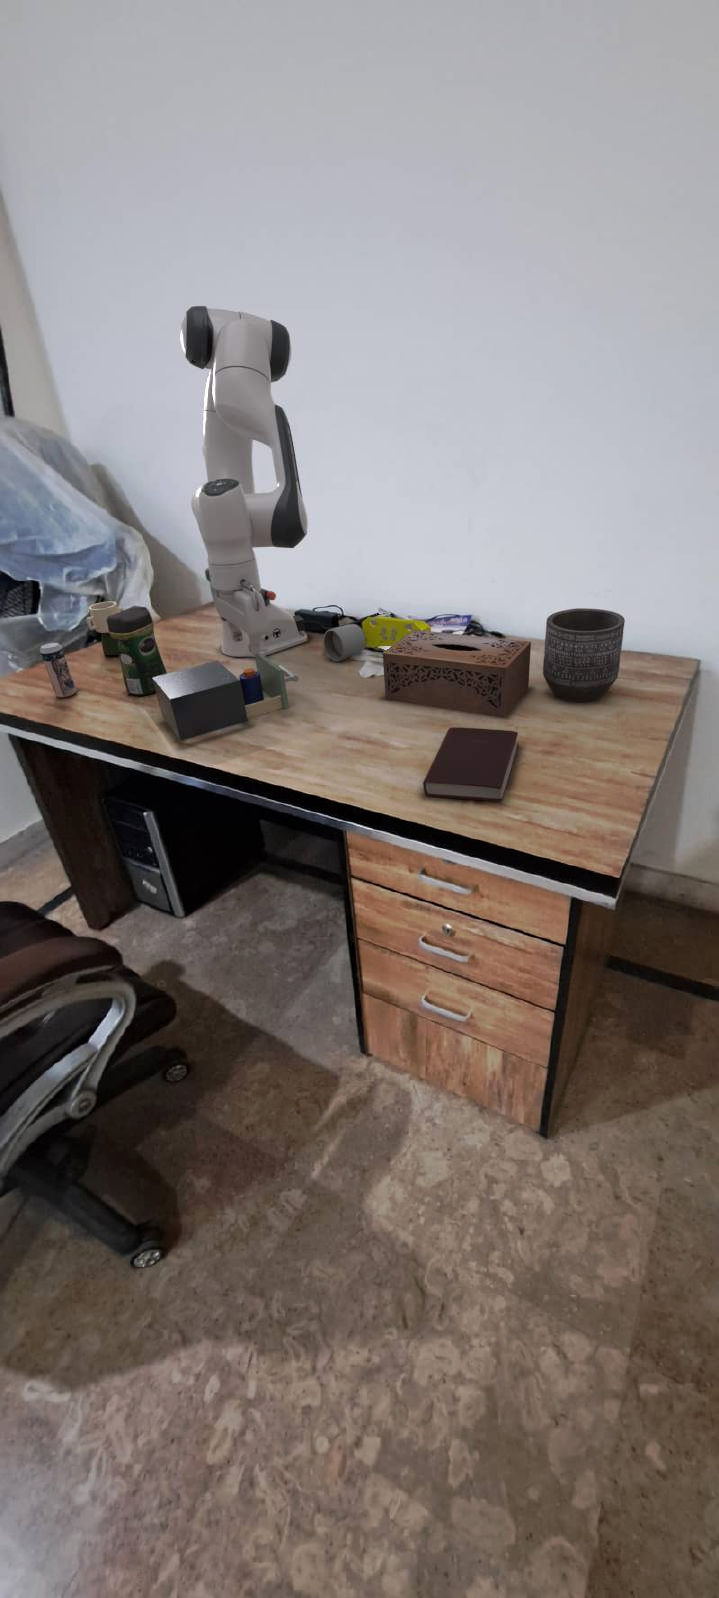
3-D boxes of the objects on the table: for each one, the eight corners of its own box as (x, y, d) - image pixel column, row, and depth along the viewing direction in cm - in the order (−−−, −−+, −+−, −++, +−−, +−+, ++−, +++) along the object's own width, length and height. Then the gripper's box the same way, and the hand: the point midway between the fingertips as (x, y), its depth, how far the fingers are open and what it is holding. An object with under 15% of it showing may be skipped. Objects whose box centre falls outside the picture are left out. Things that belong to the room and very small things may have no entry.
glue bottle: (260, 697, 143) (254, 664, 139) (267, 704, 140) (261, 670, 136) (241, 703, 141) (235, 669, 137) (248, 709, 138) (242, 676, 134)
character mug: (126, 644, 185) (112, 597, 178) (141, 649, 181) (128, 600, 174) (91, 658, 179) (76, 609, 172) (106, 662, 175) (91, 613, 168)
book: (422, 796, 108) (422, 779, 106) (448, 740, 123) (448, 724, 121) (501, 805, 104) (502, 787, 102) (518, 745, 119) (519, 729, 117)
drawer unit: (226, 704, 145) (217, 660, 140) (249, 727, 135) (240, 680, 129) (164, 722, 140) (151, 677, 135) (182, 747, 130) (170, 699, 124)
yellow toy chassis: (363, 650, 166) (360, 617, 161) (375, 642, 170) (372, 609, 165) (420, 658, 158) (419, 623, 154) (431, 650, 162) (430, 615, 158)
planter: (528, 697, 135) (532, 624, 127) (563, 673, 144) (569, 603, 136) (594, 713, 127) (603, 637, 119) (628, 687, 135) (638, 614, 127)
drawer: (282, 686, 150) (275, 645, 145) (308, 707, 139) (302, 664, 134) (205, 708, 143) (195, 666, 138) (226, 731, 133) (217, 687, 128)
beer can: (69, 698, 156) (52, 648, 149) (51, 698, 157) (34, 649, 150) (81, 690, 160) (64, 641, 153) (63, 690, 161) (46, 641, 154)
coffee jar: (151, 678, 162) (130, 601, 152) (175, 683, 158) (155, 604, 148) (120, 694, 155) (97, 615, 145) (145, 699, 152) (122, 618, 142)
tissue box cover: (528, 688, 139) (531, 641, 134) (504, 717, 129) (506, 668, 123) (415, 673, 151) (414, 629, 145) (385, 698, 141) (382, 653, 135)
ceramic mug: (369, 654, 163) (367, 622, 159) (344, 664, 159) (341, 632, 155) (341, 646, 170) (337, 616, 166) (316, 656, 166) (312, 625, 162)
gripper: (271, 582, 120) (281, 657, 127) (231, 563, 135) (242, 630, 143) (238, 589, 117) (250, 665, 125) (201, 569, 133) (214, 637, 140)
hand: (246, 646), depth 134 cm, fingers open, 8 cm apart
